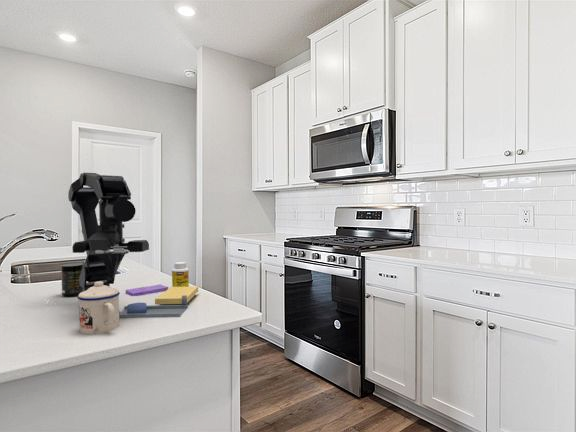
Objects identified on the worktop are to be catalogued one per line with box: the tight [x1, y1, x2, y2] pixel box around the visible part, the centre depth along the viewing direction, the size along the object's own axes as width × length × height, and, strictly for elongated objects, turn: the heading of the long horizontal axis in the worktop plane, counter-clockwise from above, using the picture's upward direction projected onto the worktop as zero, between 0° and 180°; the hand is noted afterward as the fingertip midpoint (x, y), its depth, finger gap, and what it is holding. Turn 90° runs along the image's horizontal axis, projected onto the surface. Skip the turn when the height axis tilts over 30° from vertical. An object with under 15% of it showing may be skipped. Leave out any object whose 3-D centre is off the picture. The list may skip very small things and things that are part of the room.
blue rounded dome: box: [126, 302, 147, 314], centre depth 103 cm, size 5×5×2 cm
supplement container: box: [60, 262, 84, 298], centre depth 127 cm, size 7×7×10 cm
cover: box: [154, 285, 199, 305], centre depth 116 cm, size 17×9×2 cm, turn 1°
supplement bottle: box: [171, 261, 190, 287], centre depth 130 cm, size 6×6×10 cm
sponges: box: [125, 284, 169, 297], centre depth 131 cm, size 7×13×2 cm, turn 132°
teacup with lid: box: [77, 281, 120, 335], centre depth 90 cm, size 12×9×12 cm
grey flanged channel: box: [119, 304, 189, 319], centre depth 103 cm, size 18×9×1 cm, turn 91°
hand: (112, 277), depth 103 cm, fingers closed
